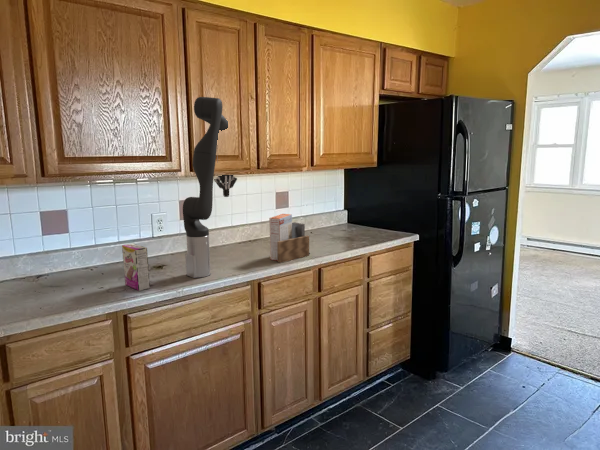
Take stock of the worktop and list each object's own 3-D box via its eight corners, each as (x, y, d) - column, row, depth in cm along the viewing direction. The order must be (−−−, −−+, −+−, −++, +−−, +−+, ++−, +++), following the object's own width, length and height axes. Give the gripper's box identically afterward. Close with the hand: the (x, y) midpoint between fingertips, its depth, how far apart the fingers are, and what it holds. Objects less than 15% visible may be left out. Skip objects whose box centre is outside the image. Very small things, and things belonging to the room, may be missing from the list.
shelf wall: (279, 262, 202) (279, 242, 200) (277, 262, 203) (277, 241, 201) (309, 255, 215) (309, 235, 214) (307, 254, 217) (307, 235, 215)
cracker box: (282, 253, 219) (281, 213, 216) (293, 254, 217) (292, 214, 213) (269, 260, 207) (268, 217, 203) (280, 261, 204) (280, 218, 201)
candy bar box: (124, 285, 169) (121, 244, 166) (136, 282, 173) (133, 242, 170) (138, 291, 162) (135, 249, 159) (150, 288, 165) (147, 247, 162)
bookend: (301, 256, 214) (301, 224, 211) (292, 253, 219) (291, 222, 216) (310, 253, 218) (310, 223, 216) (300, 251, 223) (300, 221, 220)
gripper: (218, 162, 206) (219, 198, 210) (240, 162, 216) (241, 196, 219) (209, 162, 212) (211, 197, 215) (231, 161, 221) (232, 195, 224)
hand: (226, 196), depth 217 cm, fingers closed
